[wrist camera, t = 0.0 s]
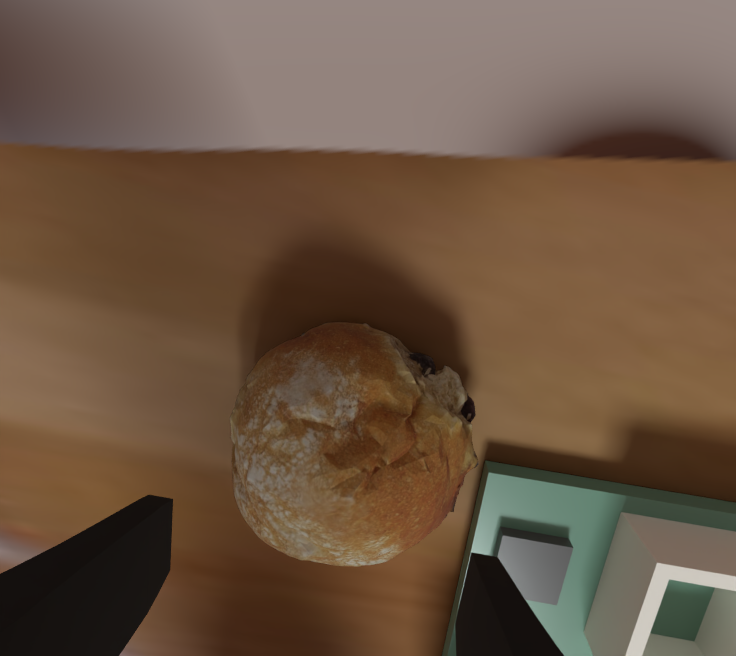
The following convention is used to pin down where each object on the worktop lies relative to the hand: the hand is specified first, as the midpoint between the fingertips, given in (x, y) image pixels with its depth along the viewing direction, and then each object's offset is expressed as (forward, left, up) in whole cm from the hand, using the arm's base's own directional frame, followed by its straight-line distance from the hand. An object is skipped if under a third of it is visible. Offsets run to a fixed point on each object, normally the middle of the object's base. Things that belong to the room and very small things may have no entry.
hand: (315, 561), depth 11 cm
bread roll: (-1, 0, -10) cm, 11 cm away
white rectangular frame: (-6, -14, -9) cm, 18 cm away
